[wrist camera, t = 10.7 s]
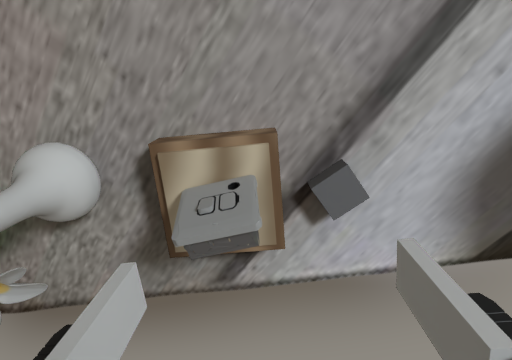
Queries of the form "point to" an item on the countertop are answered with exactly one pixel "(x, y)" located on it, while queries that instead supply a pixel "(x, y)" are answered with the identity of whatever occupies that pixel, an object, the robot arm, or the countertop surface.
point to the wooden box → (220, 176)
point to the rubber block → (338, 189)
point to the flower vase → (45, 200)
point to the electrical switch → (218, 217)
